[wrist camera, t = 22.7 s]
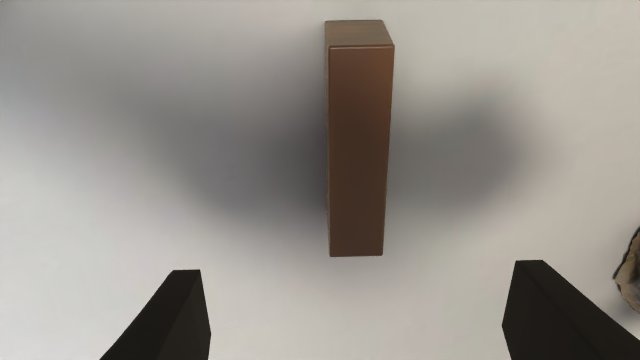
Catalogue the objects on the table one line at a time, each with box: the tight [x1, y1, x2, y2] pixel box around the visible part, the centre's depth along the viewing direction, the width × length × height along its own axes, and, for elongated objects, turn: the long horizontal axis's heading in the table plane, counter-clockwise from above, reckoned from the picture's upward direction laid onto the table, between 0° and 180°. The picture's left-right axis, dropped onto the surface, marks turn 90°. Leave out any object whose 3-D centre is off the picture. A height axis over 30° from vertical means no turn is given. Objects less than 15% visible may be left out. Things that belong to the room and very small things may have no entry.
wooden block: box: [325, 20, 395, 257], centre depth 19 cm, size 2×8×3 cm, turn 1°
